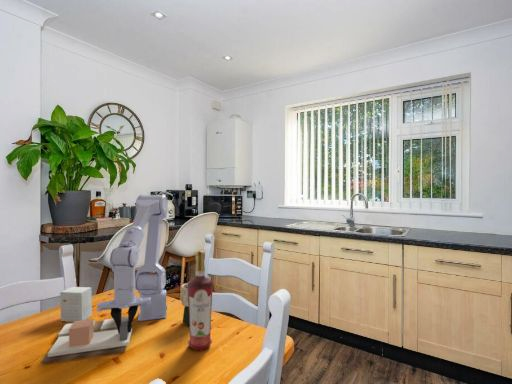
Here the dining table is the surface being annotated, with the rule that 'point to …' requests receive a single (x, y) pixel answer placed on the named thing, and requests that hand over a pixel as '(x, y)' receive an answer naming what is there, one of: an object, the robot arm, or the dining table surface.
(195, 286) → the liquor
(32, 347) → the dining table surface
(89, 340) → the block
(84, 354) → the board
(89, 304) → the small box
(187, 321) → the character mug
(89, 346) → the white tray
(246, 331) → the dining table surface
